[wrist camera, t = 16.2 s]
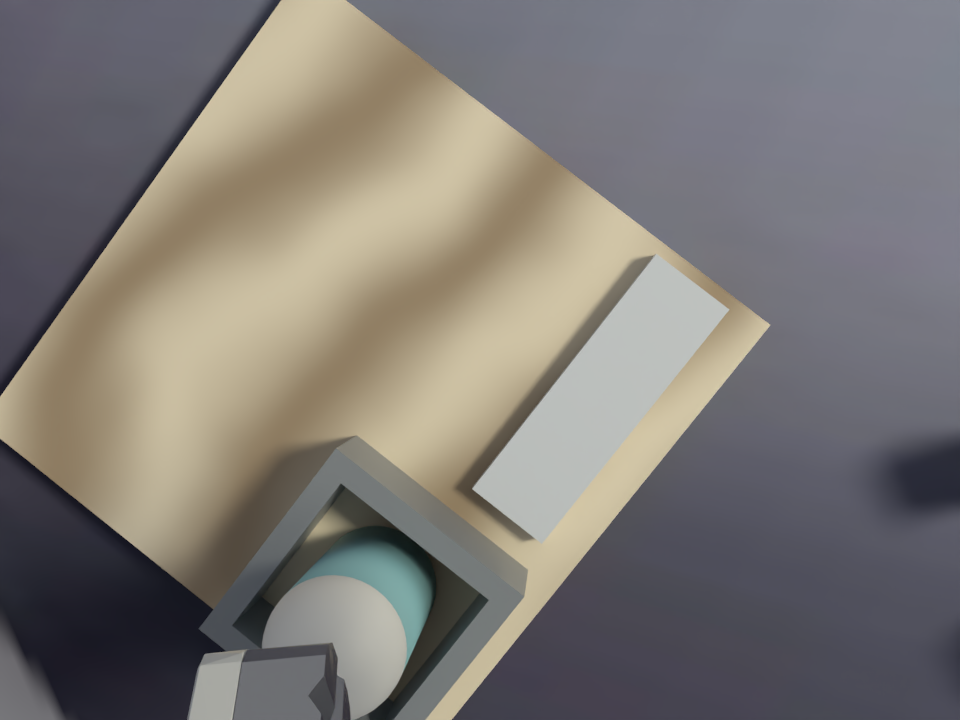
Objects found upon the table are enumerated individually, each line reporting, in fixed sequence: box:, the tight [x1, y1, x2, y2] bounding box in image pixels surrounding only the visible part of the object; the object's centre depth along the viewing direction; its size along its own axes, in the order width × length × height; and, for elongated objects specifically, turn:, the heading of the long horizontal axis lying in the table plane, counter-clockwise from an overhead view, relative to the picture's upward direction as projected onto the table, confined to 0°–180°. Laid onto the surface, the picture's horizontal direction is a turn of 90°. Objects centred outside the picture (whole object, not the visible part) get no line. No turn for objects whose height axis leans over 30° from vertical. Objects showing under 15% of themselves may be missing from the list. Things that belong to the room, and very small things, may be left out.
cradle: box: [199, 436, 528, 720], centre depth 31 cm, size 8×8×3 cm
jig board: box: [0, 0, 770, 720], centre depth 33 cm, size 20×20×2 cm
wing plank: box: [472, 254, 729, 544], centre depth 31 cm, size 10×3×1 cm, turn 143°
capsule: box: [262, 526, 436, 720], centre depth 29 cm, size 4×4×8 cm
